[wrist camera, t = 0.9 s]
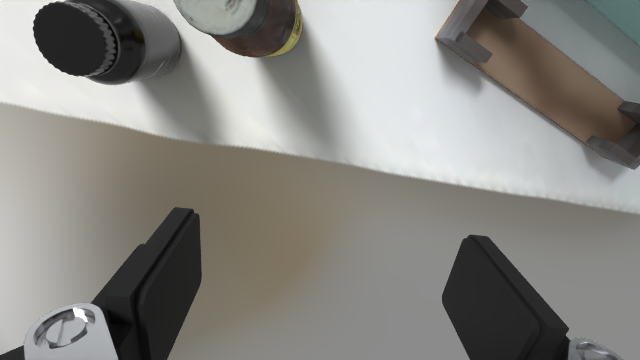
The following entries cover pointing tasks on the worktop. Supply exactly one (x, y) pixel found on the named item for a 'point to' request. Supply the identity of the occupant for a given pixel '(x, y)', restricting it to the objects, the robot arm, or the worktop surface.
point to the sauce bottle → (247, 24)
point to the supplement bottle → (107, 40)
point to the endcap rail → (543, 76)
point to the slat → (621, 15)
